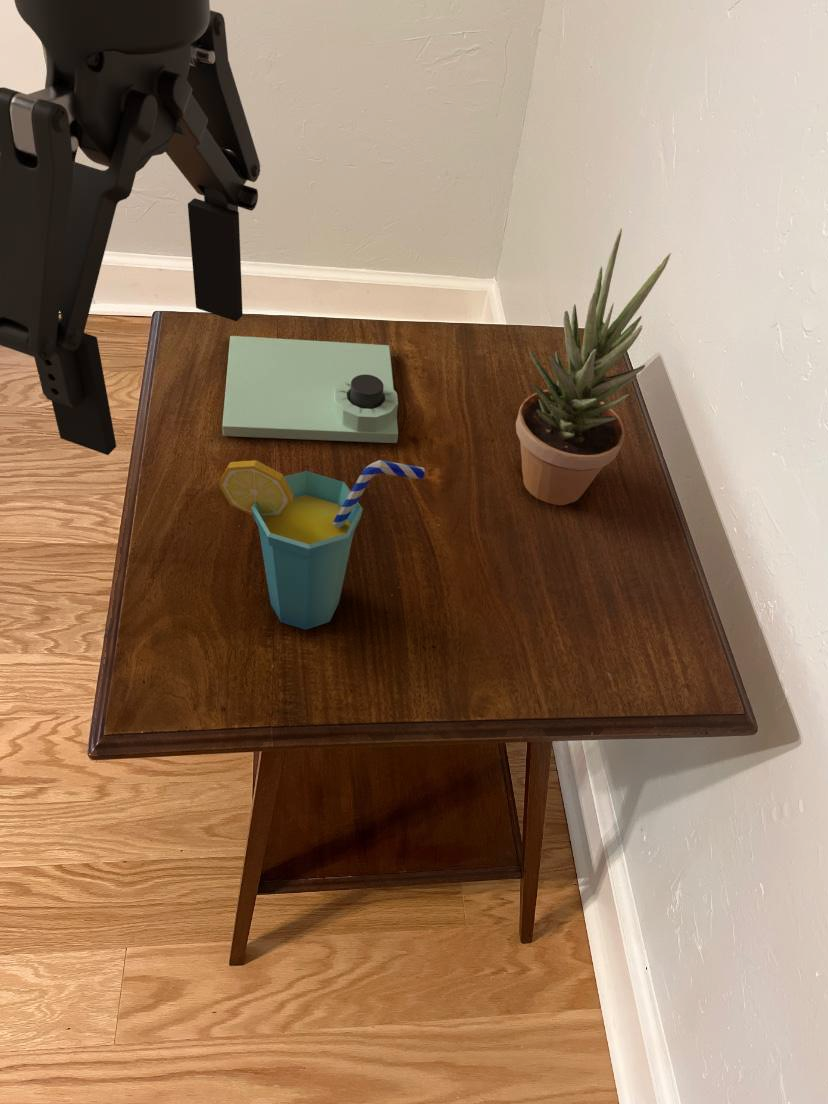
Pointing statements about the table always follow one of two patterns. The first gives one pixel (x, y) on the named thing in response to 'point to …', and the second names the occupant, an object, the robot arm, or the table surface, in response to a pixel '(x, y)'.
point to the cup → (303, 532)
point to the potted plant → (580, 399)
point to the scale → (306, 390)
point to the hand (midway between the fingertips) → (159, 372)
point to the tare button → (366, 391)
